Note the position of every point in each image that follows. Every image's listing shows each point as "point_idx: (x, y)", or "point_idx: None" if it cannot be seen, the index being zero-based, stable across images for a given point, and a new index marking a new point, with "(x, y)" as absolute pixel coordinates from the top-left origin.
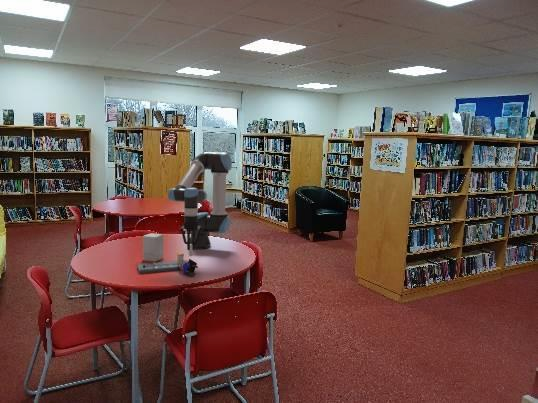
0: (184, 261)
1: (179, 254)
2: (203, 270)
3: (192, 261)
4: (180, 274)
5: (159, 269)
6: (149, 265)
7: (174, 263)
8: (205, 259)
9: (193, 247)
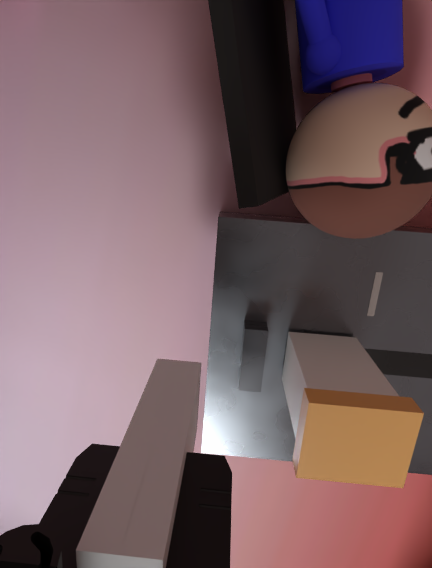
0: (374, 116)
1: (390, 410)
2: (87, 109)
3: (238, 21)
4: (410, 39)
5: None
6: None
7: None
8: (4, 474)
9: (77, 492)
